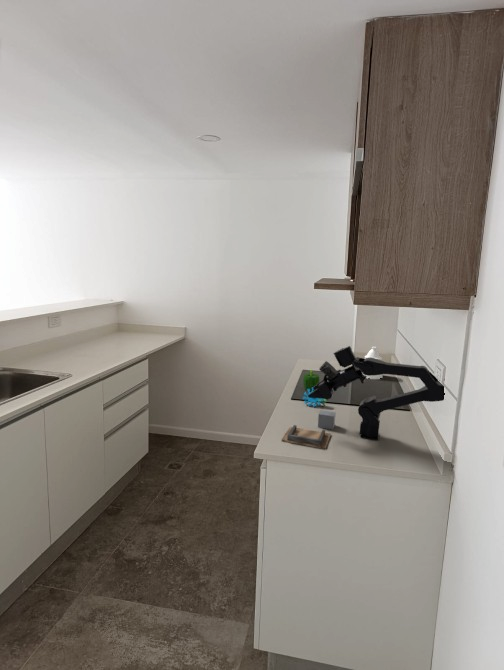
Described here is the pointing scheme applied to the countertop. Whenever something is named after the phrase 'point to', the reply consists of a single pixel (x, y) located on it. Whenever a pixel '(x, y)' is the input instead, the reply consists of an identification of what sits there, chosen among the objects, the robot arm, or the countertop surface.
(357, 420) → the countertop surface
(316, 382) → the bell pepper
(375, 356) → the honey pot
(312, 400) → the blue splash shape
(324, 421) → the block
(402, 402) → the robot arm
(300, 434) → the dock
